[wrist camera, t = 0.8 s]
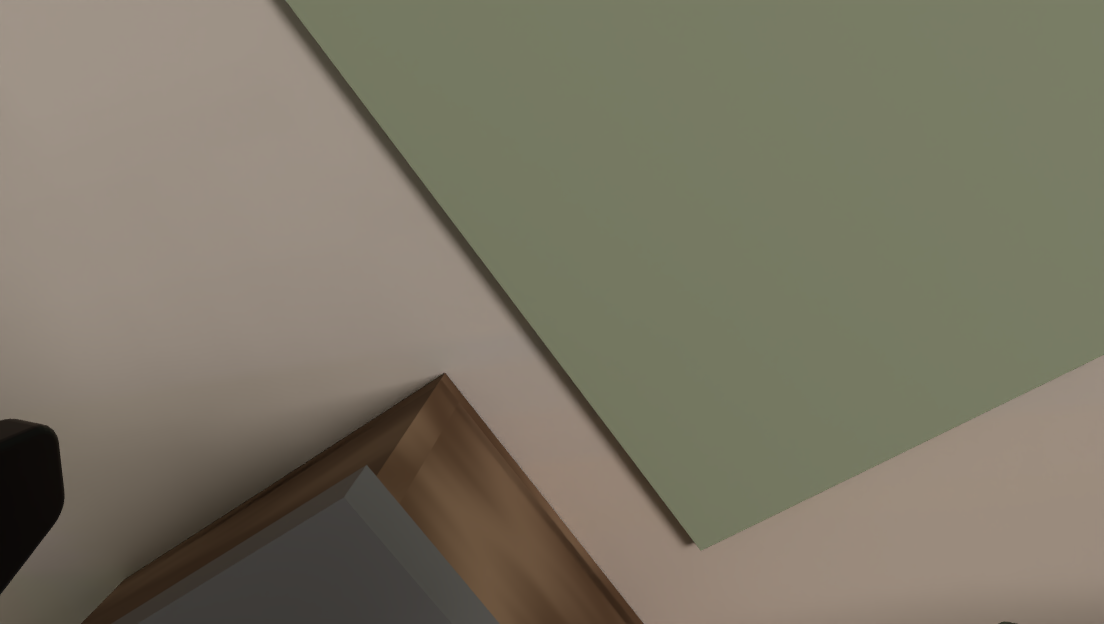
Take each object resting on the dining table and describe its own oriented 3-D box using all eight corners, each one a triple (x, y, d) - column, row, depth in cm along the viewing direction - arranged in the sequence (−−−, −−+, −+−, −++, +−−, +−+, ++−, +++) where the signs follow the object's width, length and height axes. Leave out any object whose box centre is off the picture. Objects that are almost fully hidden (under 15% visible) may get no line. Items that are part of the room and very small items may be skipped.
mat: (1436, 181, 18) (1452, 185, 17) (700, 541, 24) (700, 550, 23) (1025, -700, 14) (1034, -719, 14) (283, -14, 20) (275, -14, 20)
